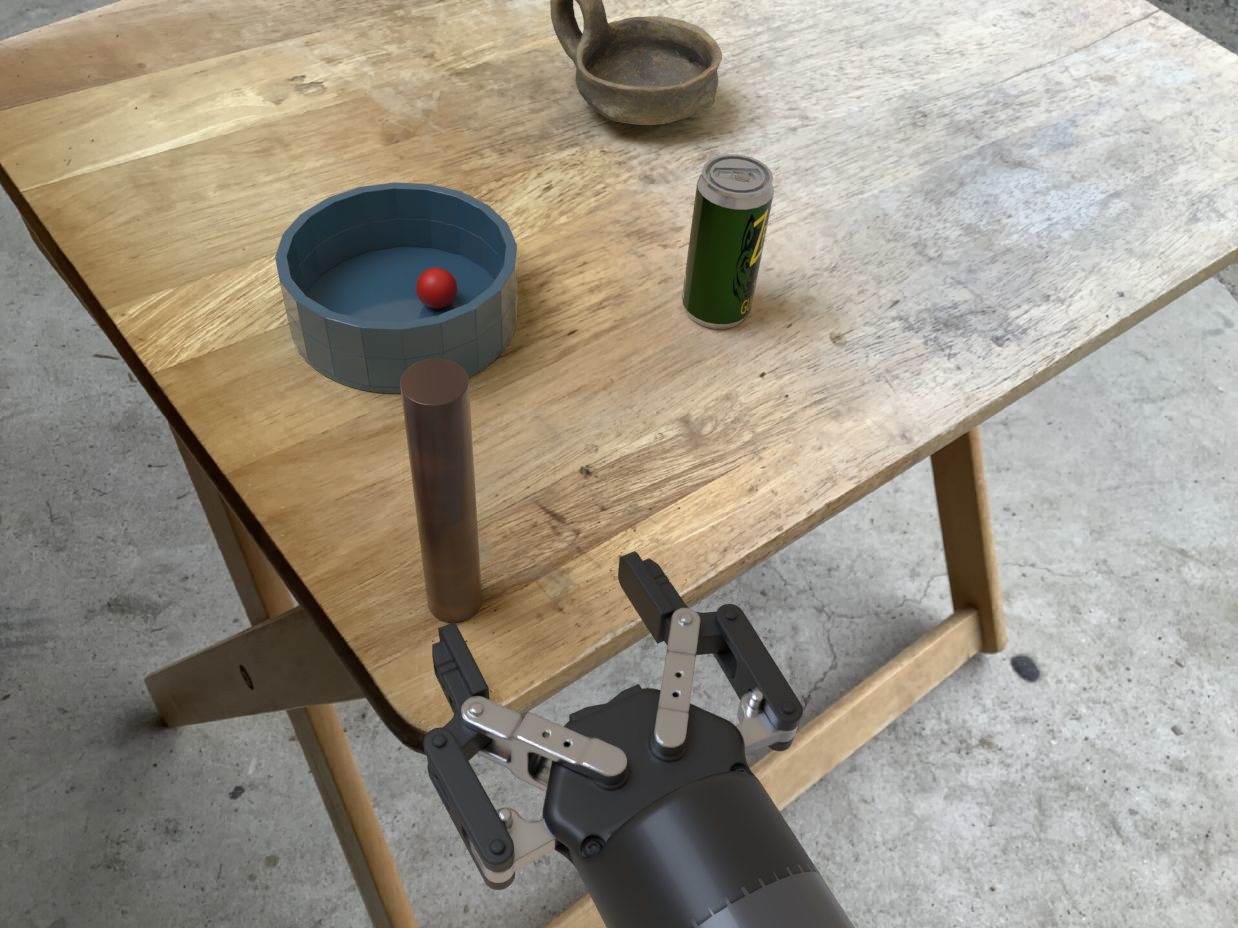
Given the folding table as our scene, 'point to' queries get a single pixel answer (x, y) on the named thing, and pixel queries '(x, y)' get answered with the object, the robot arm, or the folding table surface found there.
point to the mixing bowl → (397, 282)
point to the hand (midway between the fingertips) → (538, 598)
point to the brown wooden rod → (443, 485)
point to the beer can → (726, 240)
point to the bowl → (638, 63)
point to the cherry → (436, 288)
